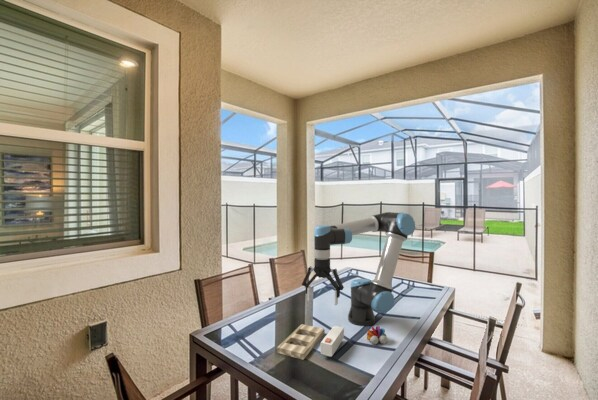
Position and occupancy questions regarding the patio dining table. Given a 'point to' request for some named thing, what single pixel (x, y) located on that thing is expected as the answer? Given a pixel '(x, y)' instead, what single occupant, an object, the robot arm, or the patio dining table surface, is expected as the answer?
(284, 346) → the square hole board
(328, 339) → the power strip
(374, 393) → the patio dining table surface
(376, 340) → the rainbow stacked discs
